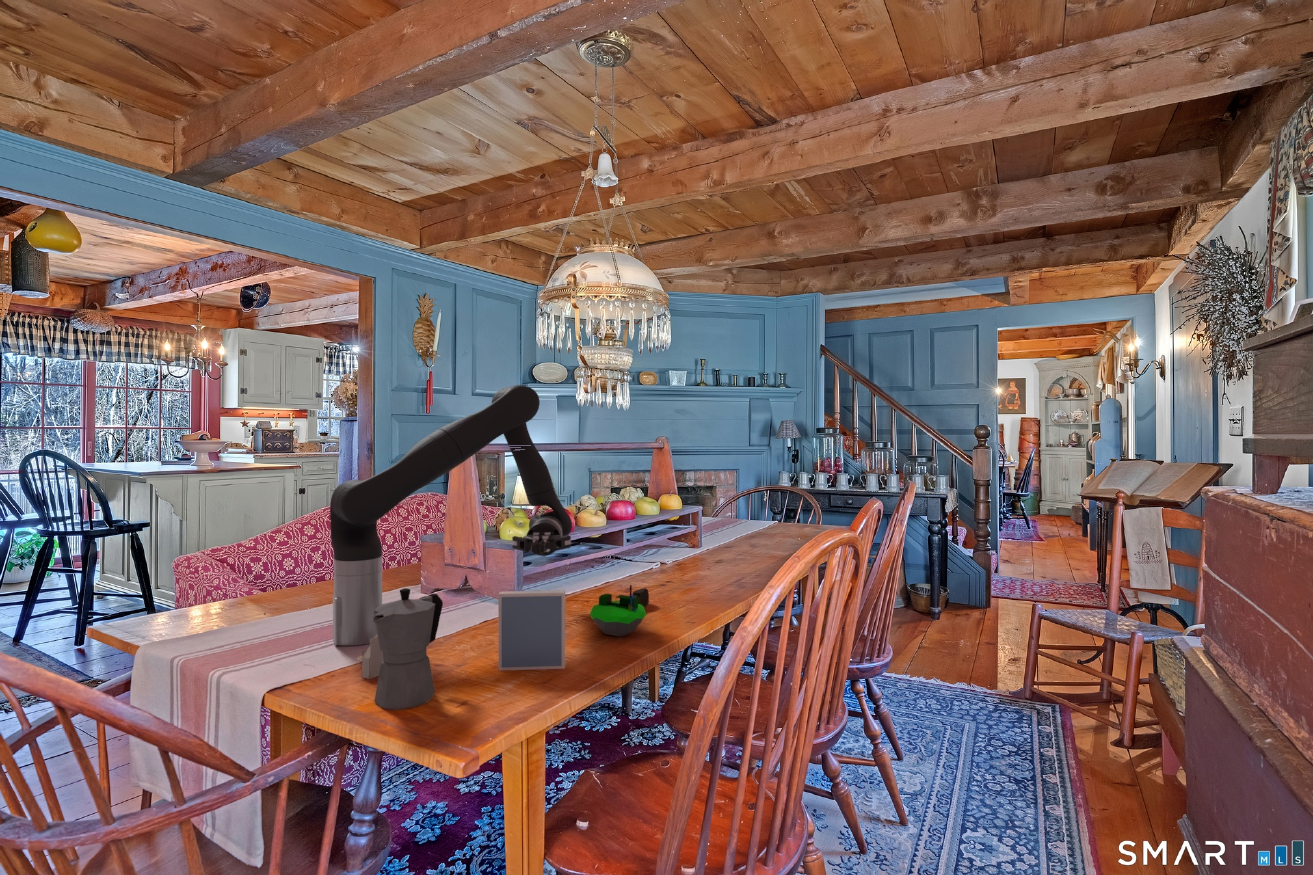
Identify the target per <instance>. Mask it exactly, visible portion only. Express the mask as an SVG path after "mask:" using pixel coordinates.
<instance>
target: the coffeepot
mask: <svg viewBox="0 0 1313 875" xmlns="http://www.w3.org/2000/svg"><path fill="white" fill-rule="evenodd" d="M399 594H400V599H398V600H394V601H390V602H386V603H382V605H381V606H379V607H378V608H376V609H374V617H373V622H375V623H376V628H377V634H378V640H379V647H380V650H381V651H383V661H382V663H381V666H380V672H379V676H377V677H378V678H377V684H376V690H375V696H374V700H373V701H374V703H375V704H376V705H377V707H380V708H382V709H385V710H393V711H394V710H395V711H396V710H399V711H400V710H407V709H412V708H416V707H419V706H422V705H425V704H427V703H428V702H430V701H431V700H433V698H434V696H435V693H436V690H435V684H434V679H433V673H432V672H433V671H432V667H431V663H430V657H429V656H428V655H427V647H429V645H430V644H431V643H433V642H434V641H435V640H436V637H437V632H438V630H439V629H438V628H439V623H440V619H441V615H442V611H443V606H444V603H443V600H442V599H441V597H440V596H439V594H437V593H431V594H428V595H424V596H421V597H419V598H418V599H414V598H410V595H411V589H410V588H407V587H405V588H401V589H400V590H399Z"/></svg>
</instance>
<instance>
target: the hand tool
mask: <svg viewBox="0 0 1313 875" xmlns="http://www.w3.org/2000/svg"><path fill="white" fill-rule="evenodd" d="M632 596H634V597H638V604H641V605H642V606H644V609H645V608H646V607H647V606H648V605H649V603H650V595H649V590H648V588H646V587H645V588H642V587H641V588H640V589H636V590H634V591H632Z"/></svg>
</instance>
